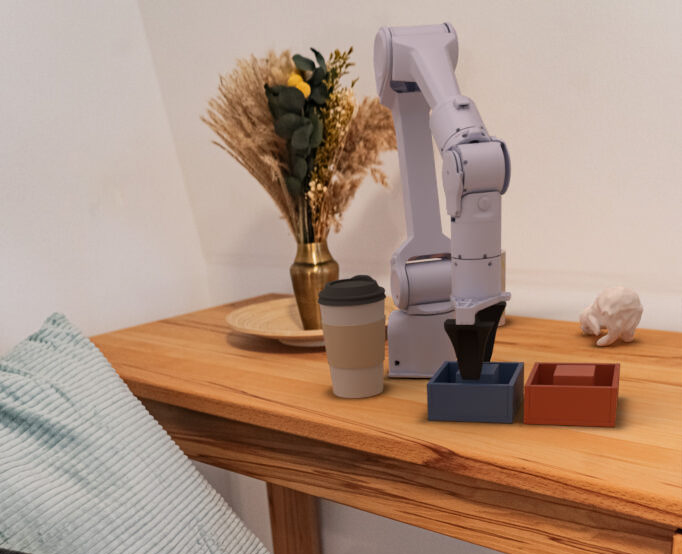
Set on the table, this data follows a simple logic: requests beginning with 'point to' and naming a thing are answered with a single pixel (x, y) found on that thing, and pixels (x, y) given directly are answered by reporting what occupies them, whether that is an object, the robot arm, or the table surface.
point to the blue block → (483, 375)
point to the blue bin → (475, 395)
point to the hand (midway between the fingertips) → (476, 370)
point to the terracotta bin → (571, 397)
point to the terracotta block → (574, 375)
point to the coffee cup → (354, 335)
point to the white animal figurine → (613, 315)
